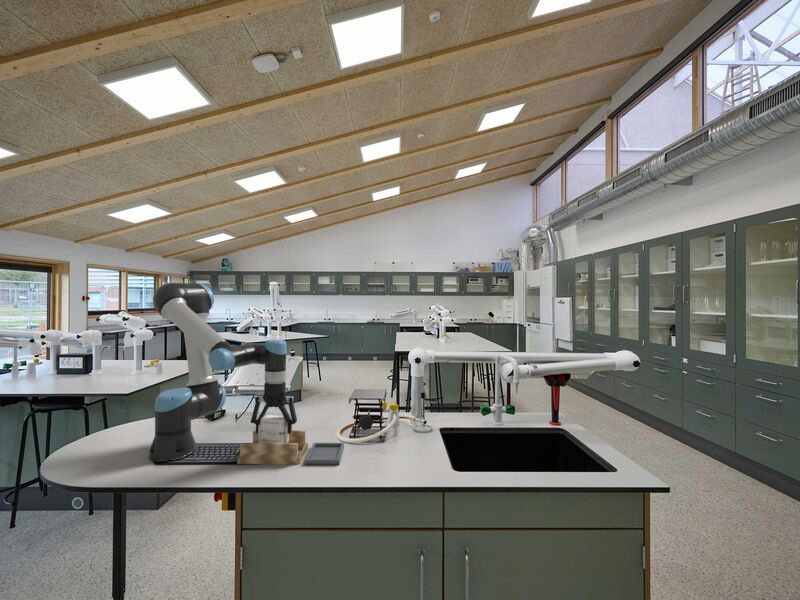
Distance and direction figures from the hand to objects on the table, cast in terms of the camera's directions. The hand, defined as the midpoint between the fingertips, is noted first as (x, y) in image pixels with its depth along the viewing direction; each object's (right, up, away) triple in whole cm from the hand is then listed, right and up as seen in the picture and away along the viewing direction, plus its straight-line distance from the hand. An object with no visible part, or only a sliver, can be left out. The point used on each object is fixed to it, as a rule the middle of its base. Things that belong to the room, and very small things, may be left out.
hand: (273, 441), depth 144 cm
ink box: (0, -3, 0) cm, 3 cm away
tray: (+19, -5, +1) cm, 20 cm away
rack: (0, -5, 0) cm, 5 cm away
